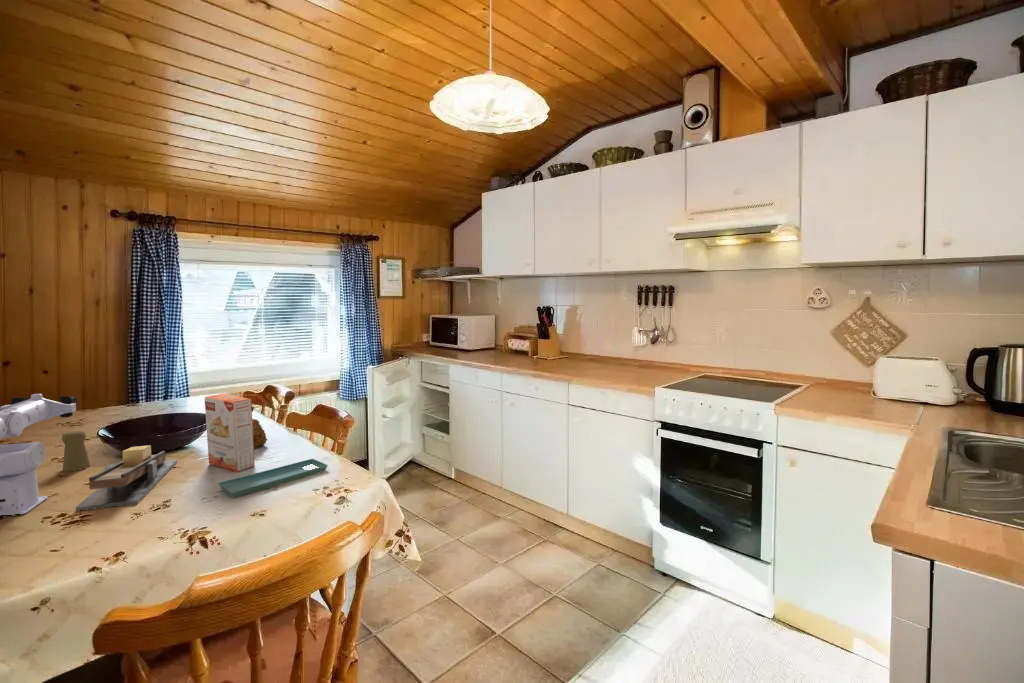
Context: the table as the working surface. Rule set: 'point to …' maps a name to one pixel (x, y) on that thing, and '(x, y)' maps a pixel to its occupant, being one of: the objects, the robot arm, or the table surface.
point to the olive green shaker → (75, 451)
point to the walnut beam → (122, 473)
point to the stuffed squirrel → (258, 433)
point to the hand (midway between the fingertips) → (58, 401)
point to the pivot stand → (127, 488)
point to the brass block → (136, 455)
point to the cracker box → (229, 432)
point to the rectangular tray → (270, 478)
